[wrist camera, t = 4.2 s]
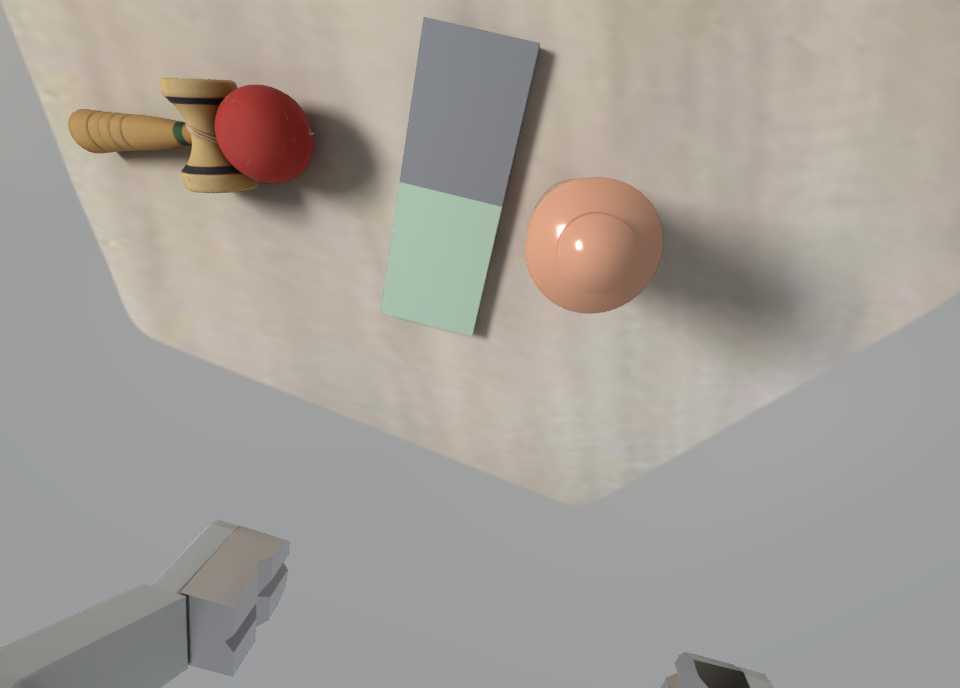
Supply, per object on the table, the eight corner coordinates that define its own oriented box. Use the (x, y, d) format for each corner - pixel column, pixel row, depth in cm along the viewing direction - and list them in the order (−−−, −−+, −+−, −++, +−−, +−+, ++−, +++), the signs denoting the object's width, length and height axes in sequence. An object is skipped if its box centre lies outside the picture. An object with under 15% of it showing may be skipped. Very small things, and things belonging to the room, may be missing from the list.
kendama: (140, 196, 37) (330, 206, 33) (51, 181, 31) (269, 191, 27) (134, 96, 36) (332, 92, 31) (40, 60, 30) (268, 49, 25)
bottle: (544, 169, 31) (545, 160, 17) (628, 190, 31) (700, 197, 17) (522, 254, 33) (508, 306, 19) (601, 273, 33) (644, 341, 19)
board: (427, 22, 29) (423, 17, 28) (539, 47, 29) (539, 43, 28) (384, 309, 36) (380, 312, 35) (473, 332, 36) (471, 336, 35)
